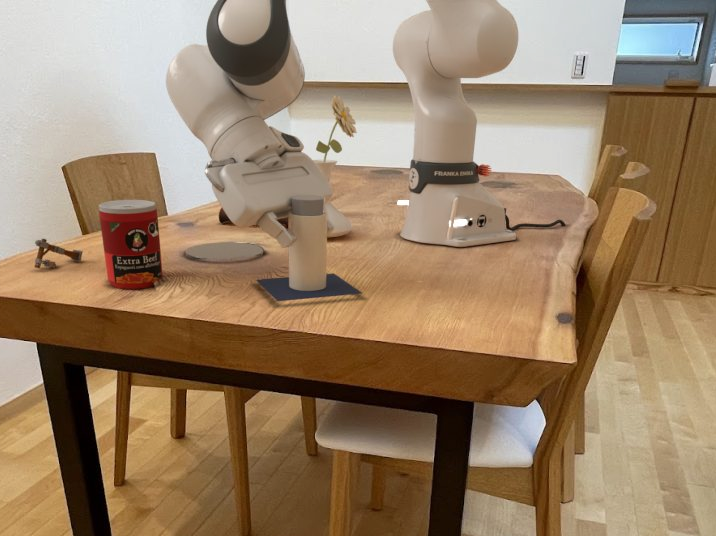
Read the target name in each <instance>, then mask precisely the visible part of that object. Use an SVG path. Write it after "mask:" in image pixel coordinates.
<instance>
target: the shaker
mask: <svg viewBox="0 0 716 536" xmlns="http://www.w3.org/2000/svg"><path fill="white" fill-rule="evenodd" d="M287 225H288V228H287V229H289V228H290V229H291V230H292V232H293V234H294V235H295V236H296V238H297V240H296V242H295V243H293V245H292V246H289V247H288V277H289V287H290V288H292V289H295V290H299V291H317V290H321V289H324V288H326V277H327V274H328V273H327V271H328V270H327V269H328V268H327V267H328V238H327V213H326V212H324V197H322V196H315V195H298V196H293V197H291V212H289V213H288V224H287Z"/></svg>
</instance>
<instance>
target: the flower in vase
mask: <svg viewBox="0 0 716 536" xmlns="http://www.w3.org/2000/svg"><path fill="white" fill-rule="evenodd" d="M330 102H331V105H330V106H331V109H332V114H333V115H334V120H335V123H334V125H333V127H332V130H331V132H330V135H329V139H328V143H327V144H325V143H324V142H322V141H320V140H318V142H317V145H316V148H315V151H317V152H319V153H321V154H324V156H323V159H312V160H313V161H314V163H315V164H316V165H317V167H318V168H319V169H320V171H321V172H322V174H323V175H324V176H325V178H326V179H327V181H328V182H329V184H330V182H331V176H332V173H333V169H334V168H335V166H336V165H337V163H338V160H333V159H327V156H328V152H329V151H330V149H332V151H333V152H335V153H336V154H339V153H341V152H342V150H343V147H342V144H341V143H340V142H339V141H338V140H336V139H335V138H333V139H332V137H333V134H334V131H335V130H336V127H337V125H338V126H339V128H340V129H341V131H342V133H344V134H346V136H349V138H354V137H355V135H354V134H357V129H356V126H355V125H356V121H355V119H354V118H353V115H351V114H350V111H351V110H350V107H349V106H345V105H344V104H345V103H344V101H343V99H342V97H341V96H339V95H338V97H337V95H336V94H334V95H333V97H332V98H331V101H330ZM330 185H331V184H330ZM325 206H326V210H327V214H328V218H329V220H330V221H331V222H332V224H333V225H334V230H333V231H332V232H331V233H330V234H328V235H327V239H328V238H336V237H342V236H345V235H347V234H350V233H351V232H352V230H353V225H352V223H351V222H350V220H349V219H348V218H347V217H346V216H345V215H344V214H343V213H342V212H340V211H339V210H338V209H337V208H336V207H335V206H334V205H333V203H332V201H331V198H330V199H329V200H328V201H327V203H326V204H325Z"/></svg>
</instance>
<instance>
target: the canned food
mask: <svg viewBox="0 0 716 536" xmlns="http://www.w3.org/2000/svg"><path fill="white" fill-rule="evenodd" d="M98 213H99V223H100V231H101V238H102V246H103V252H104V260H105V261H104V262H105V269H106V276H107V280H108V282H109V284H110V286H111V287H114V288H116V289H122V290H139V289H147V288H152V287H155V283H154V282H157V281H160V280H161V279H162V278H163V276H164V275H163V262H162V252H161V251H162V249H161V240H160V228H159V227H160V226H159V217H158V208H157V204H156V203H155V201H151V200H145V199H117V200H109V201H104V202H102V203H99V204H98Z"/></svg>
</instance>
